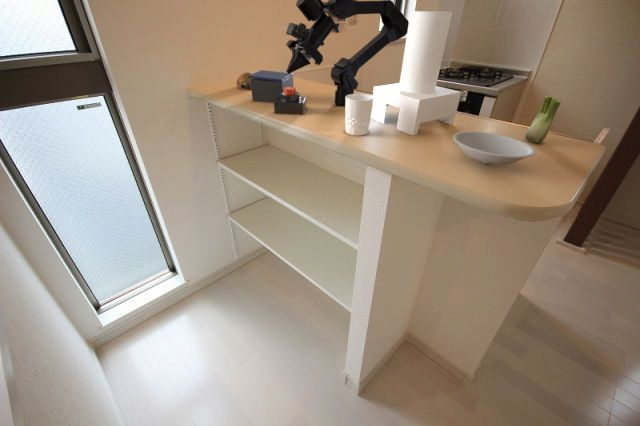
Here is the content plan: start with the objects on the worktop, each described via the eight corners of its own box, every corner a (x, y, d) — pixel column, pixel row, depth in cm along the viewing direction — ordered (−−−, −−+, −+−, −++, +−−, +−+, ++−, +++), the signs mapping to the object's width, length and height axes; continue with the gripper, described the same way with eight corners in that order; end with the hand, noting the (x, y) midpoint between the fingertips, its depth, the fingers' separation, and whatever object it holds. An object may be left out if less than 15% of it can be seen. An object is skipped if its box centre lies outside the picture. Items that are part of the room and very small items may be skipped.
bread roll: (262, 95, 138) (265, 77, 136) (246, 89, 129) (250, 69, 127) (246, 92, 142) (249, 75, 140) (230, 86, 133) (233, 67, 131)
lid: (248, 78, 112) (247, 75, 111) (261, 72, 122) (261, 70, 121) (281, 81, 109) (281, 79, 109) (292, 75, 119) (292, 73, 119)
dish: (531, 162, 73) (540, 143, 70) (520, 184, 64) (529, 163, 61) (458, 144, 82) (463, 126, 79) (439, 161, 73) (444, 142, 70)
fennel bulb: (543, 146, 82) (564, 101, 75) (523, 142, 84) (541, 98, 77) (542, 139, 86) (562, 96, 79) (523, 136, 88) (540, 93, 81)
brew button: (296, 93, 105) (296, 86, 103) (294, 95, 101) (294, 89, 100) (285, 92, 105) (285, 86, 104) (283, 95, 102) (282, 89, 100)
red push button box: (306, 108, 109) (305, 91, 106) (303, 114, 103) (302, 96, 99) (279, 107, 110) (277, 90, 106) (274, 113, 103) (273, 95, 100)
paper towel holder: (412, 135, 87) (436, 12, 70) (370, 118, 100) (381, 10, 83) (452, 124, 96) (483, 12, 79) (409, 110, 109) (426, 11, 92)
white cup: (369, 128, 92) (373, 94, 87) (370, 137, 86) (374, 101, 80) (343, 126, 93) (345, 93, 87) (342, 135, 86) (345, 100, 81)
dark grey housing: (252, 101, 116) (250, 79, 112) (265, 93, 126) (263, 73, 122) (283, 103, 114) (281, 82, 109) (293, 96, 124) (292, 75, 119)
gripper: (290, 11, 98) (261, 50, 101) (313, 12, 84) (279, 58, 87) (312, 38, 106) (284, 74, 108) (337, 43, 92) (304, 84, 94)
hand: (287, 72), depth 99 cm, fingers closed
